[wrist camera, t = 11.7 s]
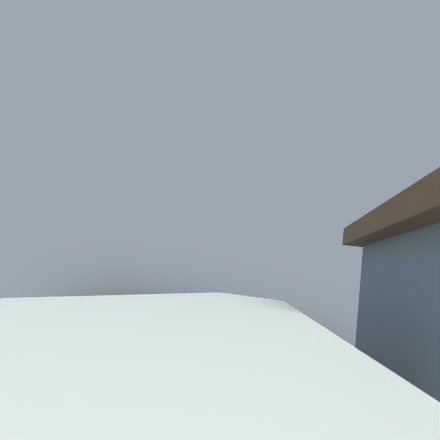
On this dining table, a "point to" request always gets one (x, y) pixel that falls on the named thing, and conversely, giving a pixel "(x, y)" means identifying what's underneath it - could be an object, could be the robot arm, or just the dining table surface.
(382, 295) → the cabinet
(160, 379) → the white beam
